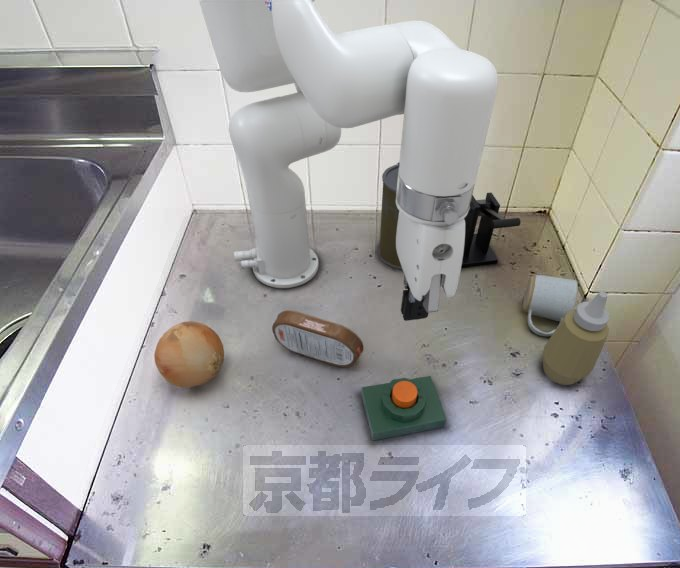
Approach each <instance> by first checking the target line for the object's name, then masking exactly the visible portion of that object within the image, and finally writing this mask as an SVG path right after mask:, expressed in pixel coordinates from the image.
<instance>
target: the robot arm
mask: <svg viewBox="0 0 680 568" xmlns="http://www.w3.org/2000/svg"><path fill="white" fill-rule="evenodd" d="M315 1H316V0H271V2H270V3H271V10H270V9H269V7H268V5H267V3H266V0H198V3H199V5H200V9H201V12H202V15H203V19H204V22H205V24H206V29H207V32H208V36H209V38H210V41H211V45H212V47H213V51H214V54H215V58H216V60H217V64H218V67H219V69H220V72H221V75H222V77H223V78H224V80H225V82H226V84H227V86H229V88H230V89H232V90H234V91H236V92H239V93H254V92H261V91H265V90H269V89H274V88H278V87H282V86H288V85H292V84H293V85H294V87H295V90H296V92H294V93H289V94H285V95H281V96H276V97H271V98H268V99H263V100H260V101H255V102H251V103H248V104H246V105H244V106H242V107H240V108H239V109H237V110H236V111H235V112H234V113H233V114H232V116H231V117H230V119H229V123H228V132H229V138H230V141H231V145H232V147H233V149H234V152H235V155H236V157H237V161H238V163H239V166H240V169H241V172H242V176H243V179H244V184H245V188H246V194H247V199H248V205H249V209H250V210H249V211H250V215H251V221H252V227H253V231H254V236H255V247H251V248H250V250H237V251H233V258H234V262H235V263H236V262H240V264H241V268H242V269H248V268H252V270H253V271H252V272H253V274H254V276H255V278H256V279H257V280H258V281H259V282H261V283H262V284H263V285H266V286H269V287H271V288H275V289H290V288H295V287H299V286H302V285H304V284H307V282H310V280H312V279H313V278H314V277H315V276H316V274H317V272H318V271H319V258H318V254H316V252H315V251H314V250H313V249H312V248H310V239H309V228H308V218H307V217H308V216H307V204H306V193H305V192H306V191H305V186H304V183H303V181H302V179H301V178H300V177H299V175H298V174H297V173H296V172H295V171H293V169H291V168H290V167H289V166H290V165H291V164H293V163H295V162H298V161H301V160H303V159H307V158H310V157H312V156H316V155H320V154H323V153H326V152H328V151H331V150H332V149H334V148H335V147H336V146H337V145H338V144H339V142H340V140H341V136H342V129H354V128H356V127H360V126H364V125H368V124H370V123H374V122H379V121H381V120H384V119H388V118H391V117H394V116H399V115H403V121H402V131H401V140H400V142H401V143H400V152H399V162H398V163H399V172H398V181H397V192H396V206H397V208H398V210H399V216H398V223H397V232H396V250H397V254H398V257H399V260H400V263H401V266H402V269H401V270H402V271H403V287H404V289H403V290H402V297H401V298H402V299H401V305H400V313H401V315H402V319H403V320H404V322H407V321H417V320H423V319H427V318H428V317H429V313H435V312H439V305H440V295H441V294H440V293H441V288H442V289H443V292H444V294H445V296H446V298H447V299H450V298H454V297H455V295H456V294H457V291H458V285H459V281H460V275H461V271H462V268H461V265H462V259H463V252H464V242H465V220H464V218H465V217H466V215H467V214H468V211H469V207H470V203H471V198H472V195H474V189H475V185H476V182H477V177H478V173H479V169H480V164H481V160H482V156H483V152H484V147H485V144H486V140H487V135H488V130H489V127H490V122H491V117H492V113H493V110H494V106H495V100H496V96H497V93H498V92H497V91H498V86H499V76H498V71H497V69H496V67H495V65H494V64H493V63H492V61H490V60H489V59H488V58H487V57H485V56H483V55H481V54H479V53H477V52H474V51H470V50H466V49H462V48H460V47H459V46H458V45H457V44H456V43H455V42H454V41H453V40H451V38H449V37H448V35H446V34H445V33H444V32H443V31H442V30H441V29H439V27H437V26H436V25H434V24H432V23H431V22H428V21H425V20H418V19H415V20H414V19H413V20H405V21H399V22H395V23H390V24H380V25H376V26H370V27H364V28H359V29H353V30H348V31H344V32H338V33H334V32H333V31H332V30H331V28H330V27H329V26H328V24H327V23H326V22H325V20H324V18H323V17H322V15H321V14H320V11H318V9H317V7H316V5H315V4H314V2H315Z"/></svg>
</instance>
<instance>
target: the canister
mask: <svg viewBox="0 0 680 568" xmlns="http://www.w3.org/2000/svg"><path fill="white" fill-rule="evenodd" d="M398 172H399V162H397V163H396V164H394V165H391V166H389V167H388V168H386V169H385V170H384V172H383V173H382V175H381V180H382V192H381V193H382V196H381V212H380V213H381V214H380V229H379V230H380V231H379V232H380V233H379V234H380V235H379V246H378V249H377V252H378V257H379V259H380V260H381V261H382V262H383V264H385V265H388V266H389V267H391V268H394V269H398V270H403V269H402V266H401V263H400V260H399V257H398V254H397V250H396V232H397V223H398V216H399V210H398V208H397V206H396V192H397V181H398Z"/></svg>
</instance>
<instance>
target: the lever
mask: <svg viewBox="0 0 680 568" xmlns="http://www.w3.org/2000/svg"><path fill="white" fill-rule="evenodd" d="M485 199H486V198H485ZM485 199H476V201H477V203H478V204H479V206H480V211H479V215H478V217H481V216H488V217H489V218H491V219H492V221H491V228H492V229H494V230H496V229H504V228H512V227H513V228H515V227H519V226H521V222H522V221H521V218H520V217H513V218H511V217H510V218H506V217H504V216H503V215H502V214H500V213H499V212H498V213H496V212H495V211H493V210H492V209H490V204H491V203H490V202H488V201H486V200H485Z"/></svg>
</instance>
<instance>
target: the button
mask: <svg viewBox="0 0 680 568" xmlns="http://www.w3.org/2000/svg"><path fill="white" fill-rule="evenodd" d="M416 398H417V388H416V386H415V385H414V384H413V383H411V382H408V381H400V382H398V383H396V384H395V385H394V387H393V392H392V400H393V402H394V404H395V405H397V406H398V407H401V408H409V407H411V406H413V405H414V404H415V402H416Z"/></svg>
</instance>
